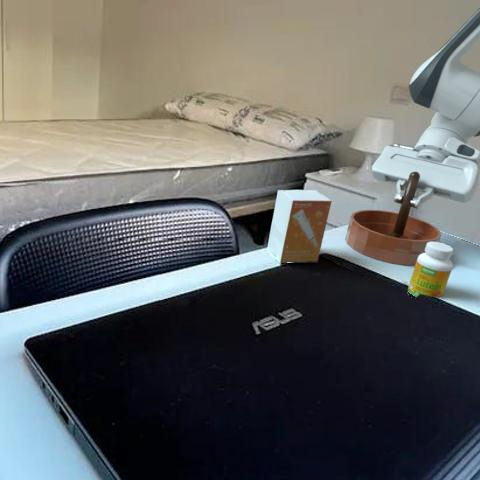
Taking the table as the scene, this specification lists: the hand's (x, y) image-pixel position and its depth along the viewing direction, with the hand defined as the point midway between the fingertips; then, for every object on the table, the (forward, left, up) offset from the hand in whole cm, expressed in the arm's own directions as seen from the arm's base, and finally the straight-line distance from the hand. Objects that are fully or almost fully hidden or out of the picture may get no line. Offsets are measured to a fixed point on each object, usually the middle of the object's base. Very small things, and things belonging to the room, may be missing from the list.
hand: (405, 204), depth 103 cm
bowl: (0, +3, -10) cm, 10 cm away
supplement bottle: (-13, +18, -10) cm, 24 cm away
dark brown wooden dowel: (0, -1, -9) cm, 9 cm away
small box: (+10, +24, -10) cm, 28 cm away
